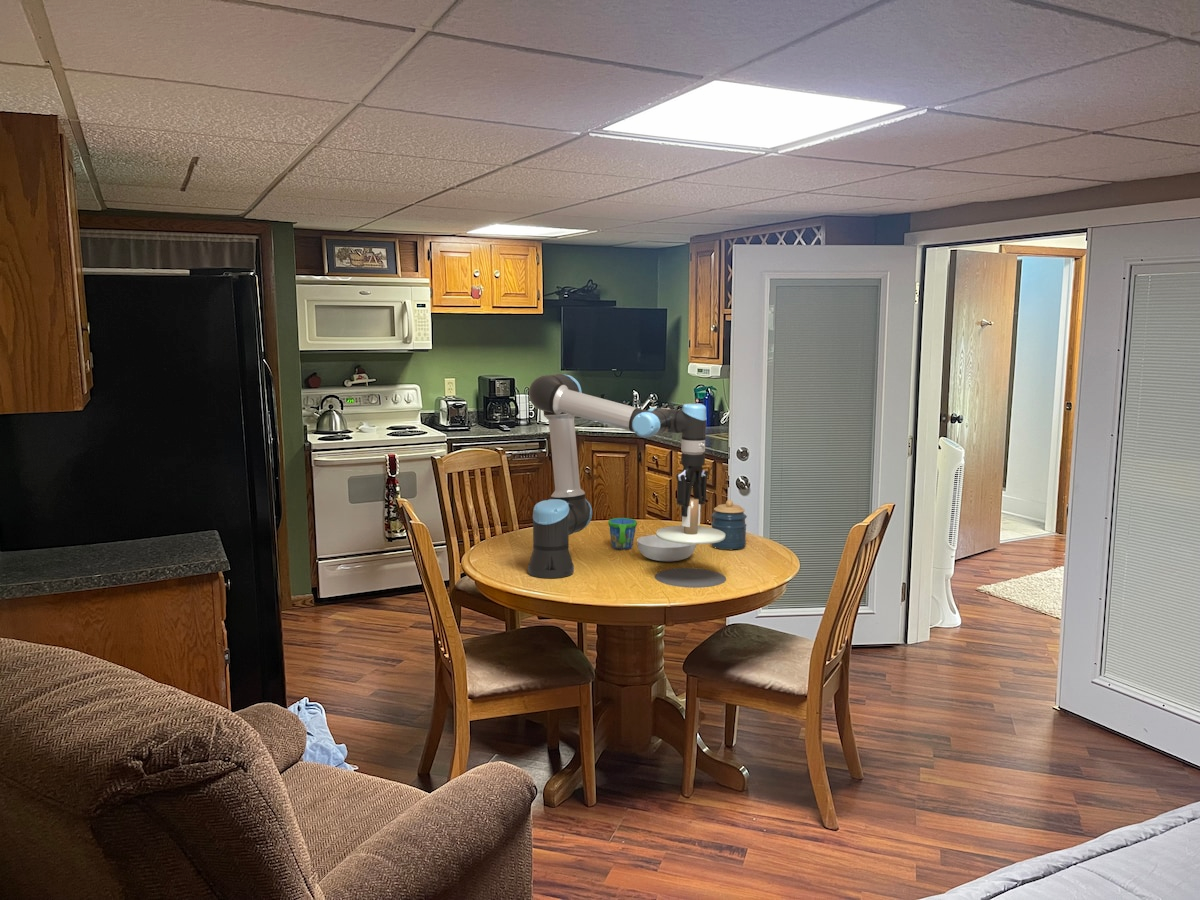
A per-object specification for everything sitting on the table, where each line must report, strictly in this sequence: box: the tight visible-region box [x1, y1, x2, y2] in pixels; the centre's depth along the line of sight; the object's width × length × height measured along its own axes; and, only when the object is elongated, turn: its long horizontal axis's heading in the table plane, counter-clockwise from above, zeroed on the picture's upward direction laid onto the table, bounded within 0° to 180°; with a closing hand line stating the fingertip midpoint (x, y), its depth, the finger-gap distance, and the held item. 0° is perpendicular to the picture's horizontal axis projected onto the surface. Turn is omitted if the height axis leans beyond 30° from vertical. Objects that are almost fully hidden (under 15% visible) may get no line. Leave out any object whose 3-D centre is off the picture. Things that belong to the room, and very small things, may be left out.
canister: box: [711, 499, 748, 550], centre depth 328 cm, size 13×13×18 cm
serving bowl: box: [636, 534, 697, 563], centre depth 309 cm, size 21×21×7 cm
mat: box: [654, 567, 727, 589], centre depth 284 cm, size 23×23×1 cm
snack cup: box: [607, 517, 638, 550], centre depth 325 cm, size 16×10×10 cm
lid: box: [655, 497, 725, 545], centre depth 282 cm, size 22×22×12 cm
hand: (690, 524), depth 282 cm, fingers closed on lid, 4 cm apart
